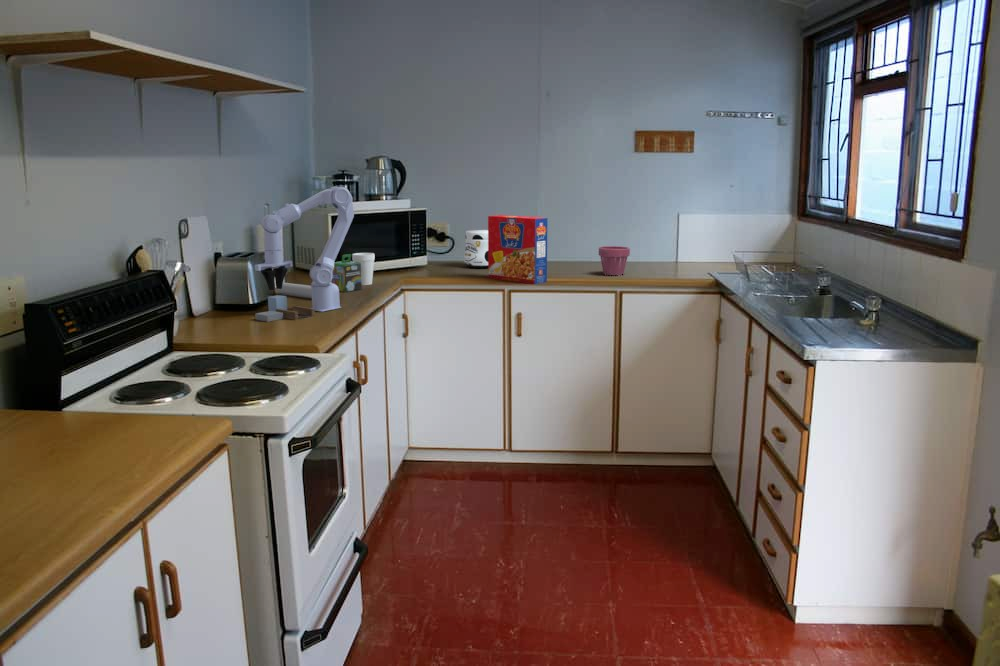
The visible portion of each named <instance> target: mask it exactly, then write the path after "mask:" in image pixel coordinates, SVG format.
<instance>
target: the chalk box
mask: <svg viewBox="0 0 1000 666" xmlns="http://www.w3.org/2000/svg"><path fill="white" fill-rule="evenodd" d="M351 257H352V254H350V253H349V254H347V253H346V254H343V255H342V256H341V261H336V262H335V261H334V269H333V273H332V274H333V278H332V281H331V282H332V283H333V284H336V285H337V287H338V289H339V292H343V293H347V292H353V291H355V292H356V291H361V290H363V287H362V286H363V285H362V283H361V262H354V261H353V260H351V259H352V258H351ZM345 258H347V259H346V260H345Z"/></svg>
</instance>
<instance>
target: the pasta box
mask: <svg viewBox="0 0 1000 666" xmlns="http://www.w3.org/2000/svg"><path fill="white" fill-rule="evenodd" d="M487 230H488V267H487V268H488V269H487V270H488V273H487V275H488V276H487V277H488V279H493V280H494V279H495V280H500V281H501V280H502V281H508V282H517V283H523V284H530V285H538V284H545V283H547V282H548V217H540V216H539V217H536V216H535V217H534V216H533V217H532V216H520V215H503V214H502V215H501V214H499V215H488V216H487Z"/></svg>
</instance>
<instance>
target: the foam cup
mask: <svg viewBox="0 0 1000 666" xmlns="http://www.w3.org/2000/svg"><path fill="white" fill-rule="evenodd" d="M351 257H352V258H351V259H352V260H351V261H354V262H361V283H362V286H367V285H368V286H369V285H373V278H374V276H373V275H374V266H375V265H374V264H375V260H376V259H375V258H376V257H375V253H374V252H355V253H352V254H351Z"/></svg>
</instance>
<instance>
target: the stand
mask: <svg viewBox="0 0 1000 666" xmlns="http://www.w3.org/2000/svg"><path fill="white" fill-rule="evenodd" d="M254 316H255V320H257V321H262V322H266V323H267V322H268V323H269V322H272V321H273V322H274V321H278V320H283V319H284V318H283V313H281V312H275V311H269V310H268V311H263V312H257V313H255V315H254Z"/></svg>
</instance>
